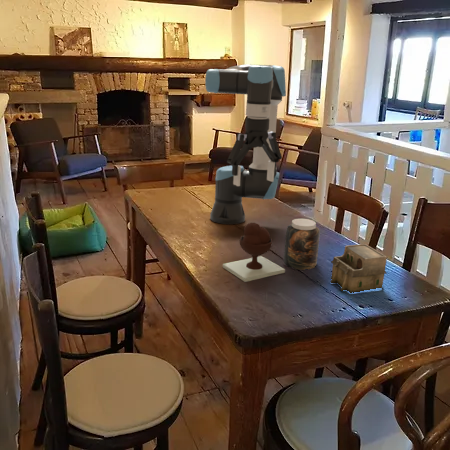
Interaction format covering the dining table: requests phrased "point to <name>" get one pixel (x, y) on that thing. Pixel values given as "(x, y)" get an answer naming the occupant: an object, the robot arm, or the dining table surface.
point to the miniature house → (359, 268)
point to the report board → (249, 274)
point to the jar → (301, 244)
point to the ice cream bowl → (255, 243)
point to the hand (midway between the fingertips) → (253, 183)
